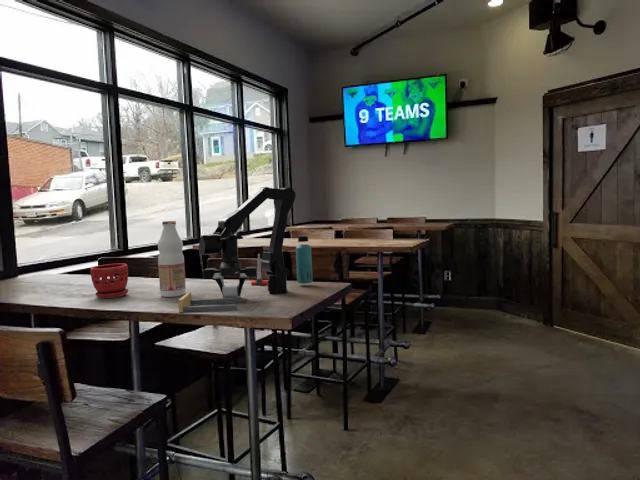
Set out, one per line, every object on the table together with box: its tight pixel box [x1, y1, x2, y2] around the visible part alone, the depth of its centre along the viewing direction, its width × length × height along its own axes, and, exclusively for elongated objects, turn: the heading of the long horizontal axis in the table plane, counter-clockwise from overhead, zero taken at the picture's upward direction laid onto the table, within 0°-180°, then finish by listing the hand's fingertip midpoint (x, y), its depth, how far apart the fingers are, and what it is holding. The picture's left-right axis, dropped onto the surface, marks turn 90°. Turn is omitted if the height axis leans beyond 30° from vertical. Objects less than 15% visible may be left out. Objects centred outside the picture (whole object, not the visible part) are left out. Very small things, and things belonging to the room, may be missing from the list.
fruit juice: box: [157, 220, 187, 298], centre depth 189 cm, size 9×9×28 cm
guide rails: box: [178, 292, 242, 313], centre depth 166 cm, size 18×12×4 cm
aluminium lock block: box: [222, 283, 241, 299], centre depth 178 cm, size 5×7×5 cm
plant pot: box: [89, 262, 129, 299], centre depth 191 cm, size 13×13×12 cm
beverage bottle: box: [295, 235, 314, 285], centre depth 200 cm, size 6×7×20 cm
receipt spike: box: [250, 253, 269, 286], centre depth 210 cm, size 8×13×9 cm
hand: (231, 296), depth 178 cm, fingers closed on aluminium lock block, 5 cm apart
